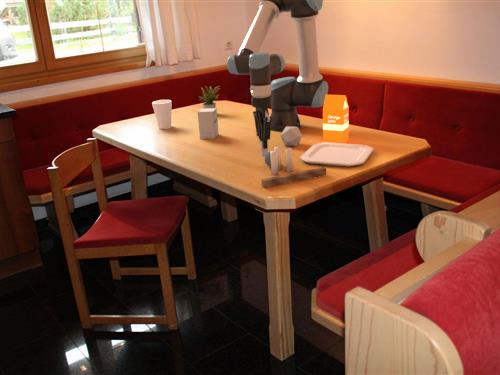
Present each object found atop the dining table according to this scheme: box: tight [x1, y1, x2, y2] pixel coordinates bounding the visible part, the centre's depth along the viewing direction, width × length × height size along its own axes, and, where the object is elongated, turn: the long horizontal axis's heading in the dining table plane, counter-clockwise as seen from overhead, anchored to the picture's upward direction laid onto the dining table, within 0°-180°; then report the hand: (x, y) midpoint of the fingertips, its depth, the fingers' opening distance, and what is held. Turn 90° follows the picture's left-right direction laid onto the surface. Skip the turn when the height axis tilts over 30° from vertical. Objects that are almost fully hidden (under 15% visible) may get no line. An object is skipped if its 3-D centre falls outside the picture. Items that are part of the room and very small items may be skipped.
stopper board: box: [260, 166, 327, 188], centre depth 182 cm, size 24×2×2 cm, turn 112°
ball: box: [264, 151, 271, 168], centre depth 197 cm, size 6×6×6 cm
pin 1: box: [269, 150, 279, 176], centre depth 188 cm, size 2×2×8 cm
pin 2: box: [285, 147, 294, 173], centre depth 190 cm, size 2×2×8 cm
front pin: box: [273, 146, 282, 172], centre depth 192 cm, size 2×2×8 cm
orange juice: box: [322, 94, 350, 144], centre depth 219 cm, size 8×9×20 cm
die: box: [280, 127, 303, 147], centre depth 221 cm, size 8×9×10 cm
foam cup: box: [151, 99, 173, 130], centre depth 262 cm, size 10×9×13 cm
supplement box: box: [197, 107, 219, 140], centre depth 240 cm, size 7×7×13 cm
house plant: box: [198, 85, 221, 109], centre depth 280 cm, size 14×14×16 cm
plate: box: [299, 142, 375, 168], centre depth 204 cm, size 25×25×2 cm
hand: (264, 155), depth 204 cm, fingers closed
